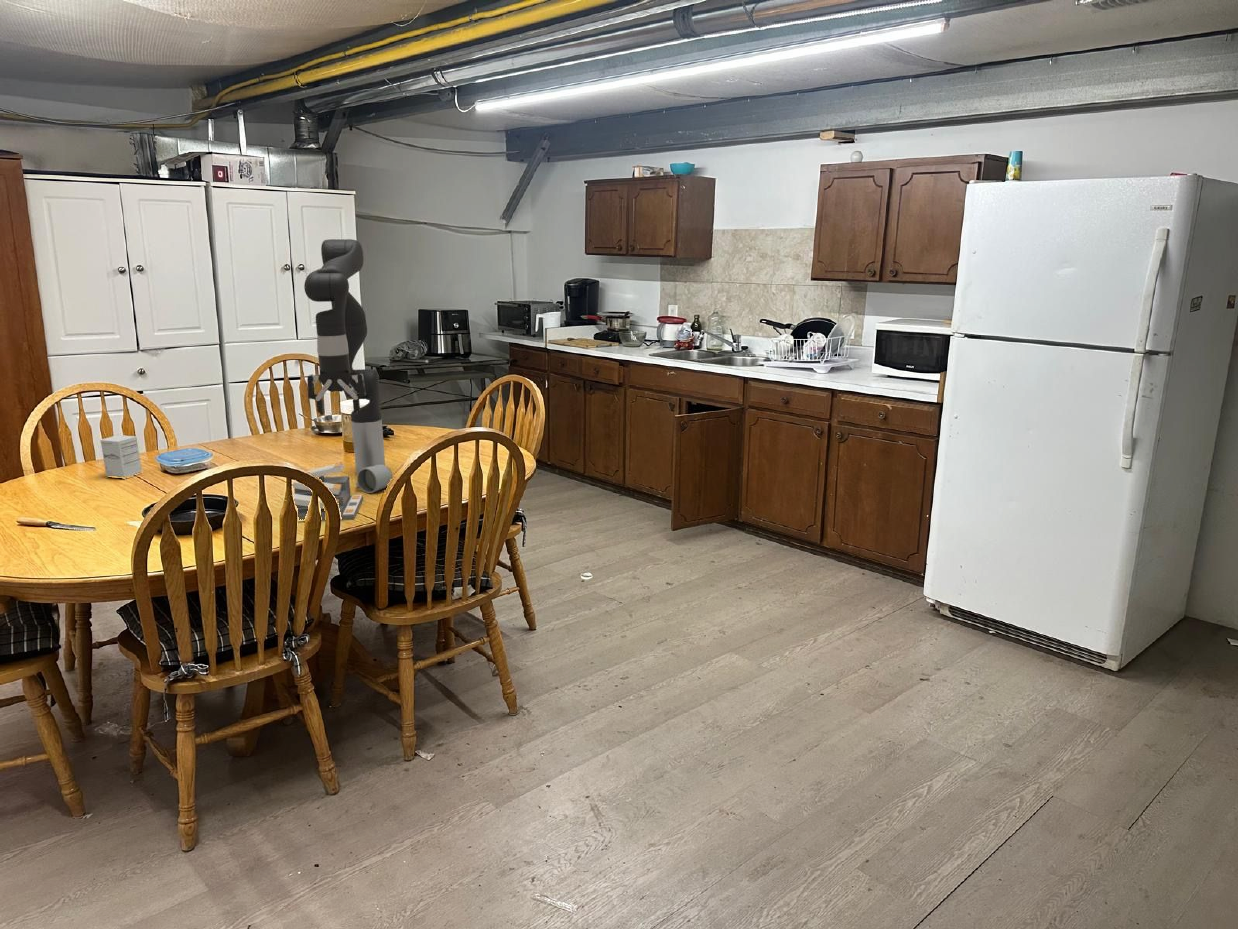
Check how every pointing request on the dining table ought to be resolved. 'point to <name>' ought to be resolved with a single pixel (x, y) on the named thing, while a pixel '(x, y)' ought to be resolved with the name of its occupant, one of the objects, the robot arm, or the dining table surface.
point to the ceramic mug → (373, 478)
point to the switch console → (346, 500)
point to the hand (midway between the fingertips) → (339, 413)
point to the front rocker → (305, 500)
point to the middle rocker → (332, 487)
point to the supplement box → (121, 456)
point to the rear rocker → (327, 470)
